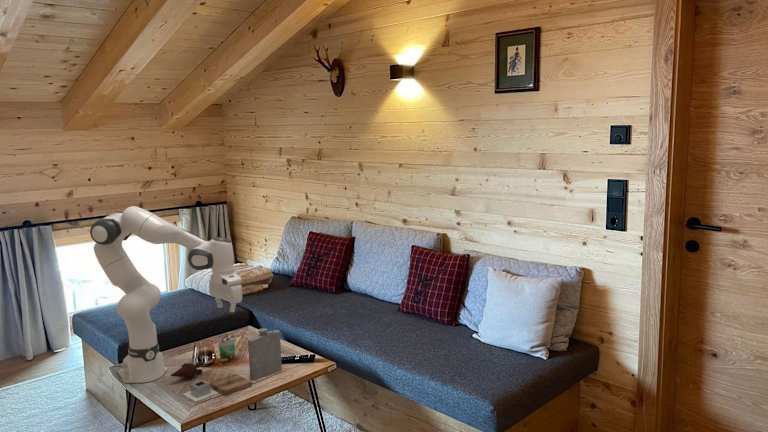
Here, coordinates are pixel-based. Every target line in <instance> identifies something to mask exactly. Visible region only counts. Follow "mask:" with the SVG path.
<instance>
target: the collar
mask: <svg viewBox="0 0 768 432" xmlns="http://www.w3.org/2000/svg"><path fill="white" fill-rule="evenodd" d="M210 388H211V387H210V382H208V381H207V380H204V379H200V380H198V381H195V382H192V383H189V389H190V391H191V394H192V395H194V396H196V397H197V398H198V397H201V396H204V395H206V394H209V393H210Z"/></svg>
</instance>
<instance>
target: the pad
mask: <svg viewBox="0 0 768 432" xmlns="http://www.w3.org/2000/svg"><path fill="white" fill-rule="evenodd" d="M215 395H219V392H218V391H216V390H214V389H213V388H211V387H210V393H209V394H206V395H204V396H201V397H198V398H197V397H196V396H194V395H192V394H191V391H187V392H184V393H182V396H184V397H186V398H188V399H189V400H191V401H192V402H194V403H198V402H200V401H204V400H205V399H208V398H211V397H214V396H215Z"/></svg>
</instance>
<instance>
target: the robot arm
mask: <svg viewBox="0 0 768 432" xmlns="http://www.w3.org/2000/svg"><path fill="white" fill-rule="evenodd" d="M132 234H133V235H134V236H137V237H138V238H139V239H141V240H142V241H145V242H147V243H150V244H153V245H161V244H176V245H180V246H182V247H184V248H186V249H188V250H190V251H189V252H188V254H187V262H188V265H189V266H190V268H191V269H193V270H195V271H203V270H209V269H211V270H212V271H211V272H212V273H211V275H210V279H209V281H208V284H209V285H208V292H209V295H210V297H214V299H215V302H216V306H217V308H218V309H220V308H223V307H224V305H223V300H224V301H226V302H228V303H229V304H230V307H229V309H228V311H229V312H230V313H234V312H236V306H237V304H238V303H241V302H242V301H243V287H242V282H243V278H242V277H241V276H240V275H238V273H237V272H236V271H235V270H236V269H235V266H234V259H235V256H234V248H233V244H232V242H231V240H230V239H229V238H227V237H222V236H219V237H218V236H217V237H213V238H212V239H208V240H207V239H204V238H202V237H200V236H197V235H195V234H194V233H192V232H190V231H188V230H186V229H183V228H181V227H179V226H176V225H175V224H173V223H171V222H169V221H167V220H165V219H163V218H162V217H159V216H158V215H156V214H155V213H153V212H151V211H148V210H146V209H144V208H141V207H139V206H136V205H132V206H129V207H127V208H125V209H124V210H123V211H119V212H116V213H112V214H108V215H107V216H105V217H103V218H100V219H98V220H96V221H95V222H94V223H93V224H92V225H91V226H90V229H89V235H90V238H91V240H93V242H95V244H94V245H93V253H94V254H95V258H96V260H97V261H98V264H99V265H100V267H101V269H102V270H103V272H104V274H105V275H106V277H107V278H108V280H109V282H110V283H111V285H113V286H114V287H117V288H119V289H120V290H121V291H122V292H124V295H123V296H122V297H121V298H120V299H119V301H118V302H117V303H116V304H117V305H116V312H117V314H118V316H119V317H120V318H121V319H123V320H124V323H125V325H126V329H127V334H128V343H129V344H128V351H127V352H128V353H127V355H126V356H125V357H124V358H123V359H122V363H121V364H120V369H118V371H117V373H118V375H119V376H120V378H121V380H122V382H123V383H124V384H131V383H132V384H133V383H134V384H139V383H141V384H142V383H148V382H153V381H155V380H158V379H160V378H161V377H163V376H164V375H165V372H167V371H168V370H169V369H168V367H167V366H165V363H164V356H163V353H162V352H161V351H160V345H159V342H158V335H157V326H156V324H155V323H154V322H153V321H152V318H151V315H150V311H151V310H152V309H153V308H154V307H156V306H157V304H159V301H160V300H161V297H162V292H161V289H160V288H159V287H158V286H157V285H155V284H154V283H151V282H150V281H148V279H147V278H145V277H144V276H143V275H142V274H141V273H140V271H138V270H137V268H136V266H135V264H134V263H133V262H132V259H130V257H129V255H128V254H127V252H126V251H125V249H124V247H123V242H124V241H127V240H128V239H129V237H130V236H132Z"/></svg>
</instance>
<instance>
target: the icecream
mask: <svg viewBox="0 0 768 432" xmlns="http://www.w3.org/2000/svg"><path fill="white" fill-rule="evenodd" d="M204 365H205V364H204V361H199V362H197V363H195V364H194V363H191V362H187V363H183V364H182V365H181V367H179V369H177V370H176V371H174V372H173V373H171V374H170V377H175V378H176V377H177V378H183V379H185V380H187V381H188V380H190V379H191V378H194V377H195V376H196V375H201V374H202V373H203V370H202V369H201V367H203V366H204Z"/></svg>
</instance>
